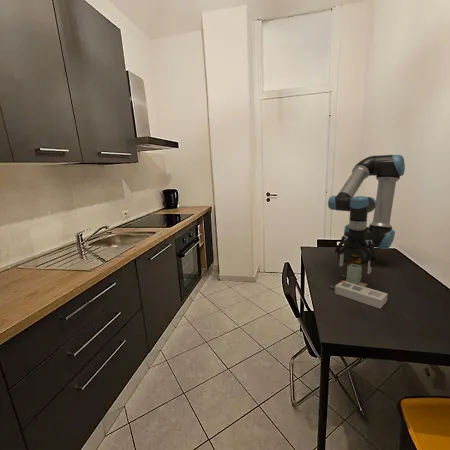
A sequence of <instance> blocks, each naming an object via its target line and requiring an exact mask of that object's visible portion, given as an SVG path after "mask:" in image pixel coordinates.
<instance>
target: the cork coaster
mask: <svg viewBox="0 0 450 450" xmlns="http://www.w3.org/2000/svg"><path fill="white" fill-rule="evenodd" d="M344 281H346V282H348V281H347V278H346V279H345V280H344ZM358 285H360V286H363V287H367V286H368V283H365V282H361V281H360V282H359V283H358Z"/></svg>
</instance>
